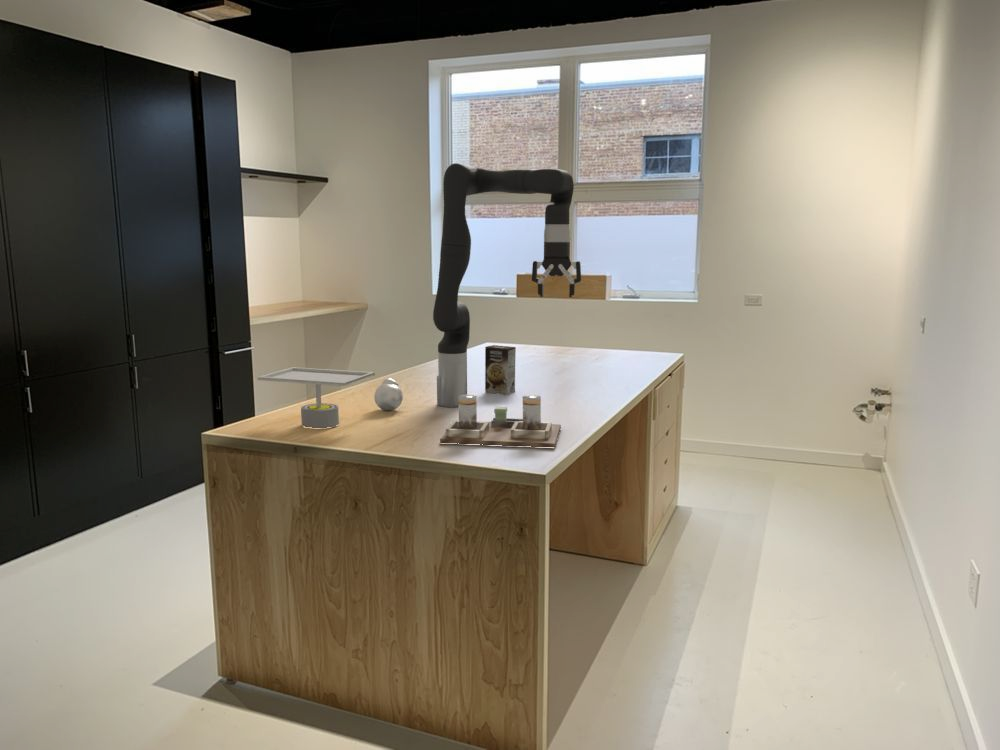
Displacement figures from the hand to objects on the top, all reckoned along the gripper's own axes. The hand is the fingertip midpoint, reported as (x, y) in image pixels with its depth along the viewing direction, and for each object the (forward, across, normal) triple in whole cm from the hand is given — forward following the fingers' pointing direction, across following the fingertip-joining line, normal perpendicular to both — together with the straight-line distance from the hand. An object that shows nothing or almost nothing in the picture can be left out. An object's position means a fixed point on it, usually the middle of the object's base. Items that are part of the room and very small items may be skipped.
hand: (556, 296), depth 219 cm
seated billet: (+35, -21, -28) cm, 49 cm away
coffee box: (+36, -22, +34) cm, 54 cm away
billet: (+35, -4, -26) cm, 43 cm away
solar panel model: (+36, -66, -21) cm, 78 cm away
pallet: (+36, -12, -25) cm, 46 cm away
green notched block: (+34, -14, -18) cm, 41 cm away
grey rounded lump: (+36, -52, +1) cm, 63 cm away
